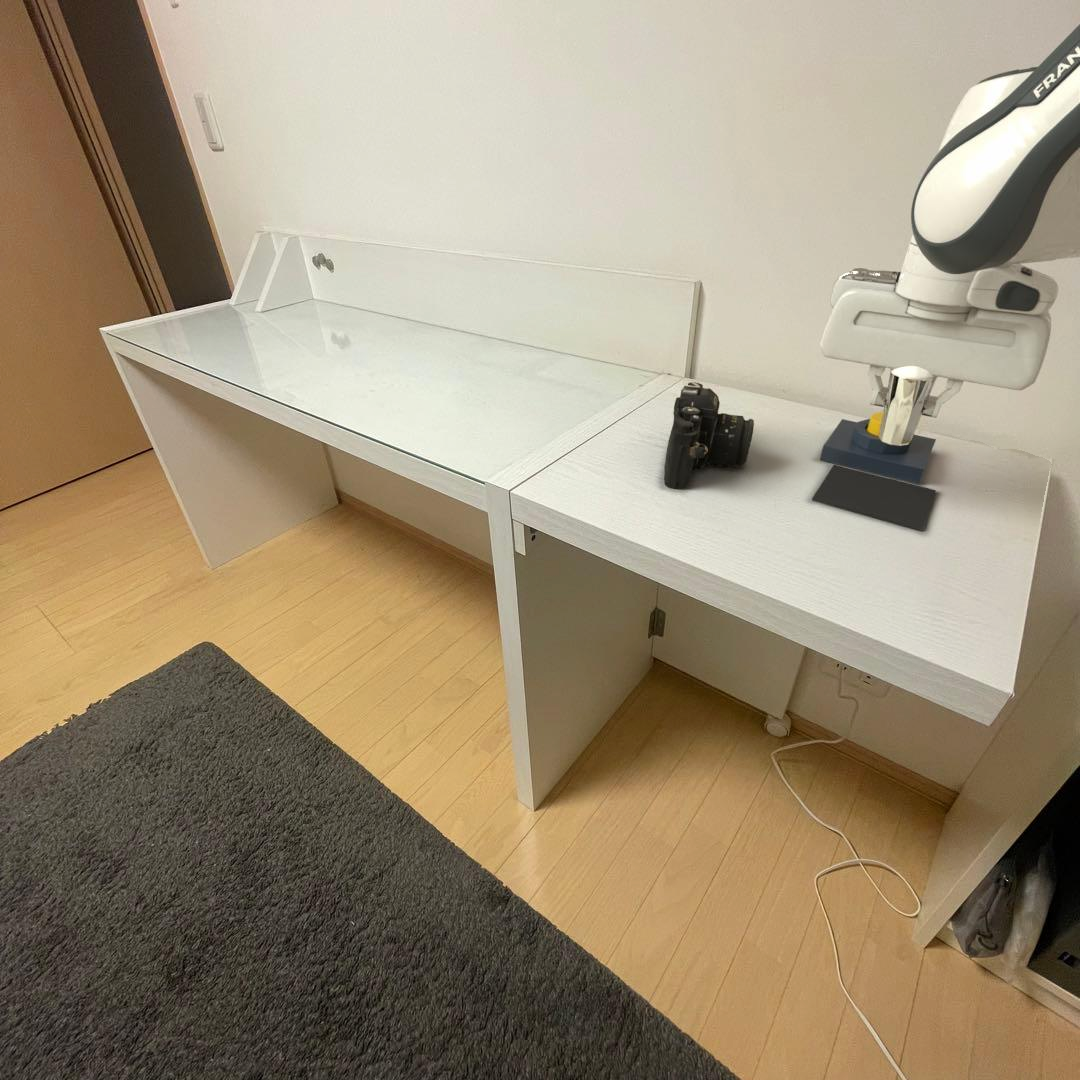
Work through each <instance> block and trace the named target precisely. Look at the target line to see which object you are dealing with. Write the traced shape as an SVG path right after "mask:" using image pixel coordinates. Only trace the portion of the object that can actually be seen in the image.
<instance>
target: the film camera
mask: <svg viewBox="0 0 1080 1080" xmlns="http://www.w3.org/2000/svg"><path fill="white" fill-rule="evenodd" d="M720 405H721V404H720V399H719V396H718V394H717V393H716V392H715V391H713V389H712V388H709V387H708V388H705V387H704V385H703V384H702V383H699V382H696V381H691V382H688V383H687V384H684V386H683V387H682V388H681V390H680V396H679V397H676V398H675V401H674V404H673V421H672V426H671V429H670V434H669V438H668V442H667V447H666V453H665V462H664V468H663V469H664V470H663V471H664V473H663V481H664V486H665V487H668V488H672V489H675V490H677V489H679V490H682V489H686V488H687V487H688V486H689V484H690V481H691V477H692V472H693V470H695V469H696V470H701V469H702V468H703V467H705V466H709V467H721V468H723V467H724V468H727V467H730V468H737V467H739V468H741V467H744V465H745V464H746V463H747V460H748V455H749V451H750V447H751V443H752V439H753V434H754V427H755V420H754V419H752V418H749V419H747V420H746V419H745V417H744V415H737V414H730V413H729V414H728V413H724V412H721V413H719V410H720Z"/></svg>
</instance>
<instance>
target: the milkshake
mask: <svg viewBox="0 0 1080 1080" xmlns="http://www.w3.org/2000/svg"><path fill="white" fill-rule="evenodd" d="M889 369H890V371H889V376H888V383H887V388H888V389H887V396H886V400H885V405H884V407H883V411H882V412H883V416H882V422H881V427H880V432H879V439H880V440H881V441H882V442H884V443H887V444H889V445H897V446H902V445H908V444H909V443H910V442H911V440H912V438H913V435H915V433H916V430H917V427H918V425H919V422H920V419H921V417H922V416H923V415H922V412H923V409H924V407H925V404H926V401H927V399H928V398H929V396H931V393H932V391H933V389H934V386H935V384H936V382H937V380H938V377H937V376H933V375H932V374H930V372H929V371H927V370H925V369H922V368H920V367H917V366H906V367H900V368H897V369H891V368H889Z"/></svg>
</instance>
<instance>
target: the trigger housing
mask: <svg viewBox="0 0 1080 1080" xmlns="http://www.w3.org/2000/svg"><path fill="white" fill-rule="evenodd" d="M870 419H871V418H868V419H862V420H859V421H853V420H848V419H844V418H842V419H841V420H840V421H839V422H838V424H837V426H836V427H835V429H833V431H832V433H831V434H830V435H829V437H828V439H827V440H826V441H825V443H824V444H823V446H822V450H821V453H820V456H819V461H821V462H826V463H829V464H833V465H837V466H841V467H845V468H849V469H853V470H857V471H861V472H865V473H869V474H873V475H877V476H881V477H885V478H889V479H893V480H897V481H901V482H905V483H909V484H913V485H917V486H919V484H920V482H921V479H922V478H923V475H924V472H925V469H926V467H927V464H928V461H929V459H930V456H931V454H932V451H933V449H934V446H935V443H936V441H937V438H932V437H927V436H923V435H918V434H914V435H913V438H912V440H911V442H910V443H909V444H908V445H902V446H897V445H889V444H887V443H884V442H882V441H881V440H880V439H879V436H876V435H874V434H871V433H869V432H868V431H867V428H868V425H869V422H870Z"/></svg>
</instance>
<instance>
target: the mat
mask: <svg viewBox="0 0 1080 1080" xmlns="http://www.w3.org/2000/svg"><path fill="white" fill-rule="evenodd" d="M936 492H937V490H936V489H934V488H933V489H932V488H928V487H926V486H925V487H924V486H921V485H917V484H913V483H909V482H905V481H901V480H897V479H893V478H889V477H885V476H881V475H877V474H873V473H869V472H865V471H861V470H857V469H853V468H849V467H845V466H841V465H837V464H833V465H832V466H831V468H830V470H829V471H828V473H827V475H826V476H825V478H824V479H823V480H822V482H821V483H820V486H819V487H818V488H817V490H816V491H815V492H814V493H815V494H814V495H813V496H812V498H811V501H813V502H816V503H819V504H823V505H826V506H830V507H834V508H837V509H840V510H844V511H847V512H851V513H854V514H859V515H862V516H866V517H869V518H873V519H877V520H880V521H883V522H887V523H890V524H894V525H898V526H901V527H905V528H908V529H912V530H914V531H919V532H923V530H924V527H925V525H926V521H927V519H928V516H929V512H930V510H931V507H932V503H933V500H934V498H935V496H936Z"/></svg>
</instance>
